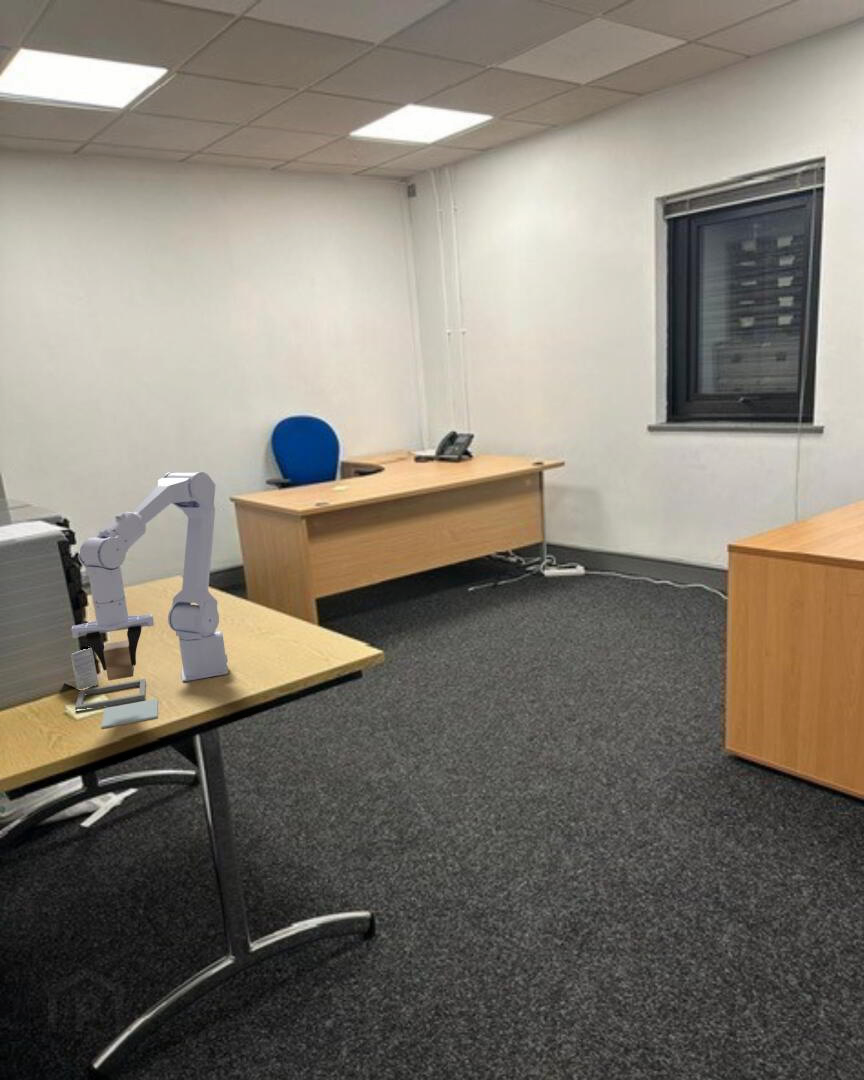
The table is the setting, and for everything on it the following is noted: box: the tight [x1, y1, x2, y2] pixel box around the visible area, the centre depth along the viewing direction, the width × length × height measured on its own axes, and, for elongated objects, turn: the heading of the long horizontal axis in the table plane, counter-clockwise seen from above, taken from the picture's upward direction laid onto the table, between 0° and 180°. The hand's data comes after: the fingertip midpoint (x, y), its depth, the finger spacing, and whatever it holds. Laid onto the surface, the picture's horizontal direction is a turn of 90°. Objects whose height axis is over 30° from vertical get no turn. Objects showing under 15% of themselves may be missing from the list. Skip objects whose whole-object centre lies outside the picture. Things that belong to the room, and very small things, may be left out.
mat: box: [101, 698, 159, 729], centre depth 152 cm, size 10×9×1 cm
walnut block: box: [103, 639, 135, 681], centre depth 152 cm, size 4×4×6 cm
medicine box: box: [71, 647, 99, 689], centre depth 168 cm, size 8×4×9 cm, turn 48°
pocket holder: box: [74, 678, 147, 711], centre depth 161 cm, size 13×10×1 cm
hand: (119, 666), depth 152 cm, fingers closed on walnut block, 4 cm apart
